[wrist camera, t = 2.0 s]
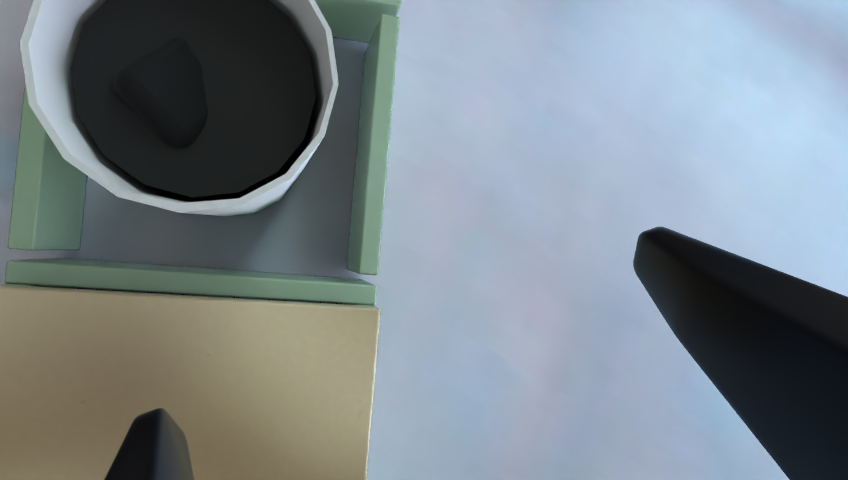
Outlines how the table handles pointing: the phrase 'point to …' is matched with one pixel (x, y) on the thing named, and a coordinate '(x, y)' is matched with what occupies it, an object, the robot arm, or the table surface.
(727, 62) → the table surface
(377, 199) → the storage box
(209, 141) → the white cup
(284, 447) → the sliding lid
